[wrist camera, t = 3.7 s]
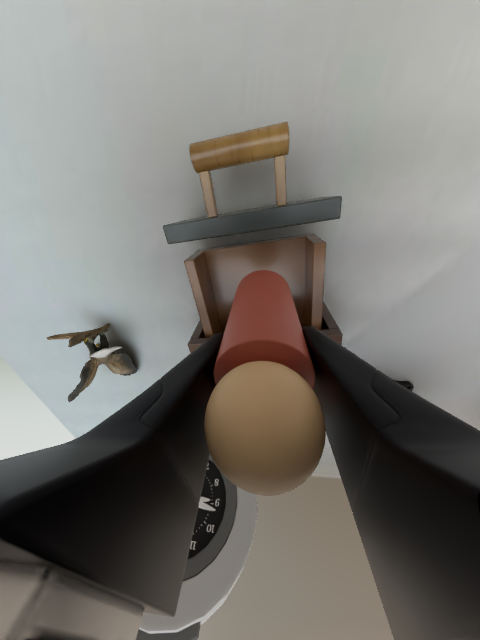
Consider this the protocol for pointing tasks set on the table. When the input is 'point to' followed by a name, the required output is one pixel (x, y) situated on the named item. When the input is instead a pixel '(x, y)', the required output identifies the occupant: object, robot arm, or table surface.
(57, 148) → the table surface
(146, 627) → the alarm clock
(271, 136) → the drawer
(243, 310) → the peg doll
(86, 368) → the eagle figurine
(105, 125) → the table surface
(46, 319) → the table surface
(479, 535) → the robot arm
